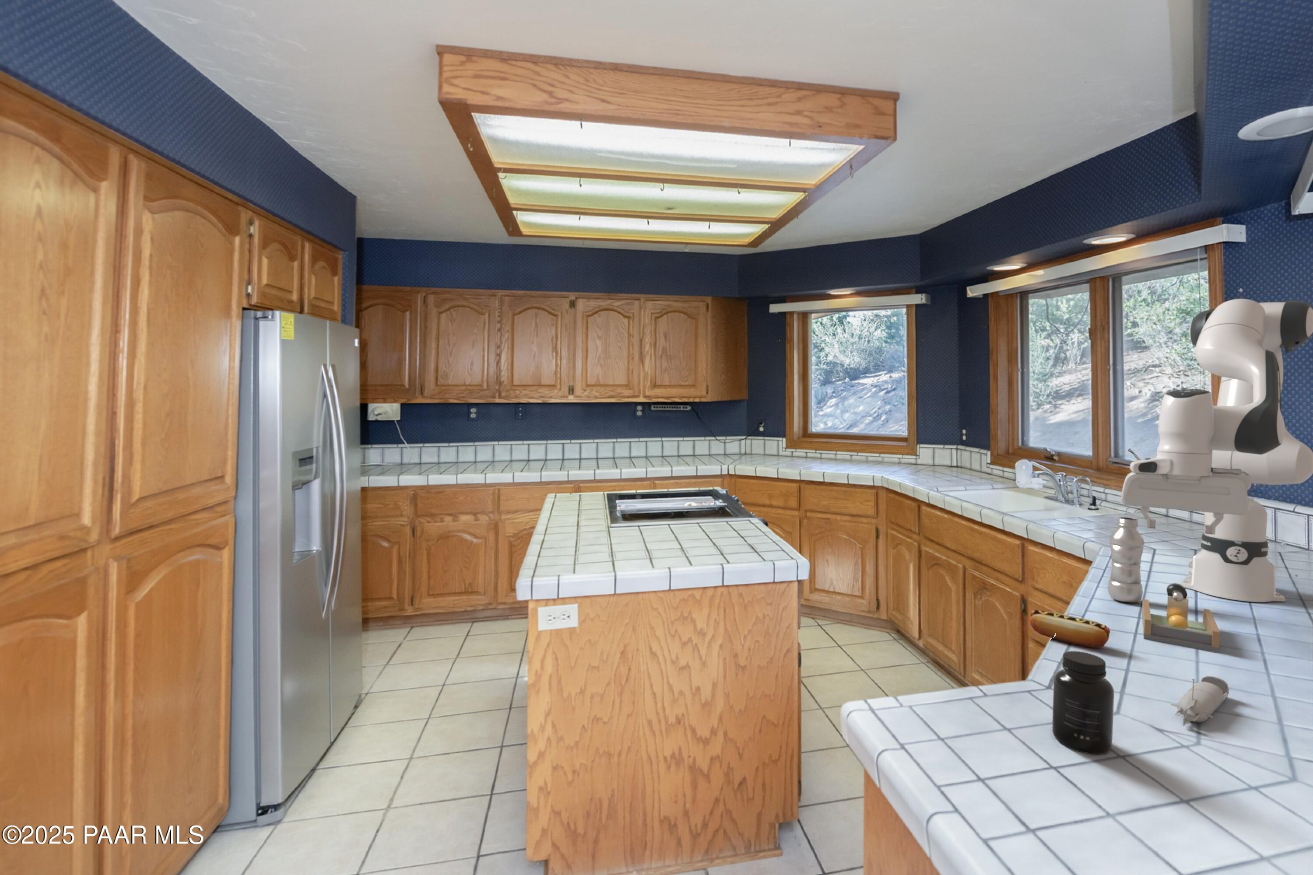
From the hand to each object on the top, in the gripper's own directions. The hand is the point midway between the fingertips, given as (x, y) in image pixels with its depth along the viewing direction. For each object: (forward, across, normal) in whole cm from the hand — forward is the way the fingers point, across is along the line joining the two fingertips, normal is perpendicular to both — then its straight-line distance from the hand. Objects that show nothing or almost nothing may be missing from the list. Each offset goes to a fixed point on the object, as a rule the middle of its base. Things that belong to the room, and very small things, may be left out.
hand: (1179, 530), depth 127 cm
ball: (+18, 0, +7) cm, 19 cm away
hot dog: (+21, +17, +25) cm, 37 cm away
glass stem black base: (+19, 0, +2) cm, 19 cm away
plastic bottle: (+20, +8, -13) cm, 25 cm away
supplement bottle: (+21, +13, +67) cm, 72 cm away
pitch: (+20, 0, +6) cm, 21 cm away
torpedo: (+21, -1, +45) cm, 50 cm away
